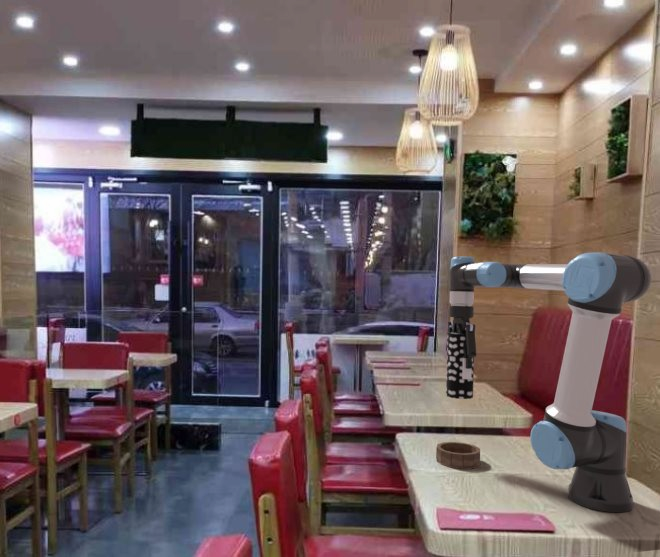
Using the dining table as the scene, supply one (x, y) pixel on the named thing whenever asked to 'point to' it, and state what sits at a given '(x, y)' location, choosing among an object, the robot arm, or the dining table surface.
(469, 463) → the holder
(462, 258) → the robot arm
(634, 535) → the dining table surface
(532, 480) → the dining table surface
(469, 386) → the white-spotted black cylinder
